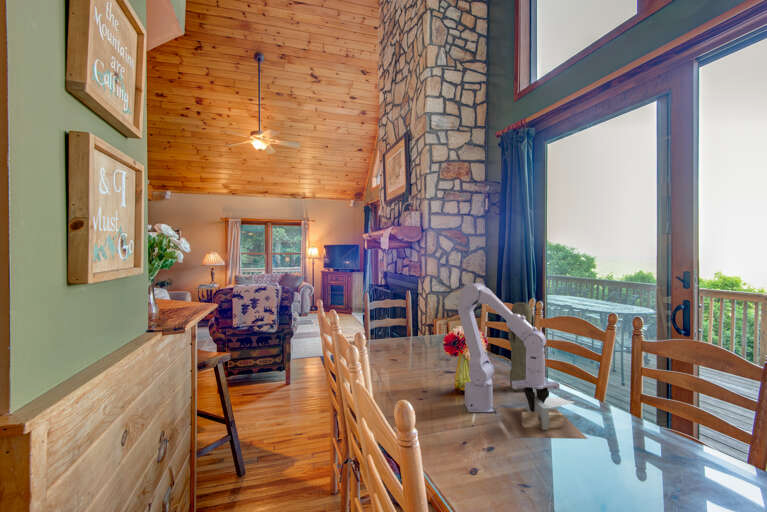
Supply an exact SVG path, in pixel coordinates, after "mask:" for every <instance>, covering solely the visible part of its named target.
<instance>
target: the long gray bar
mask: <svg viewBox="0 0 767 512" xmlns="http://www.w3.org/2000/svg"><path fill="white" fill-rule="evenodd" d="M524 408H525V409H526V410H527V411H528V412H531V410H530V409H529V404H528V400H527V397H526V395H525V394H524ZM549 409H550V408H548V407H547V406H546V405H545V404H544V403H543V402H542V401H541V400H540V399H539V398H538V397H537V394H535V398H534V412H537V414H538V419H541V420H542V429H543V430H549Z"/></svg>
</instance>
